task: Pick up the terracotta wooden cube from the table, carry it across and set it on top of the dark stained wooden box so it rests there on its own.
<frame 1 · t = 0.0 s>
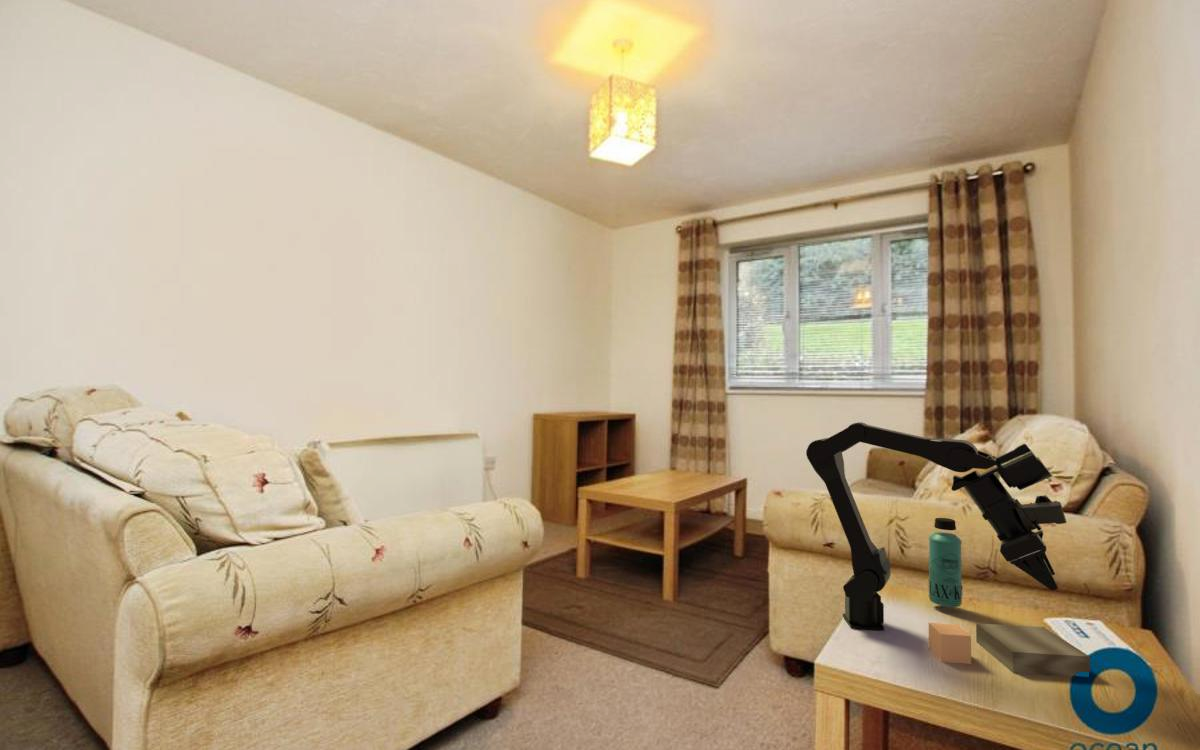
hand: (1053, 582, 99), 15 cm above the table, tool tilted 35°, fingers open, 9 cm apart
beverage bottle: (945, 609, 126), on the table
terracotta cube: (949, 656, 103), on the table
dark box: (1029, 661, 102), on the table
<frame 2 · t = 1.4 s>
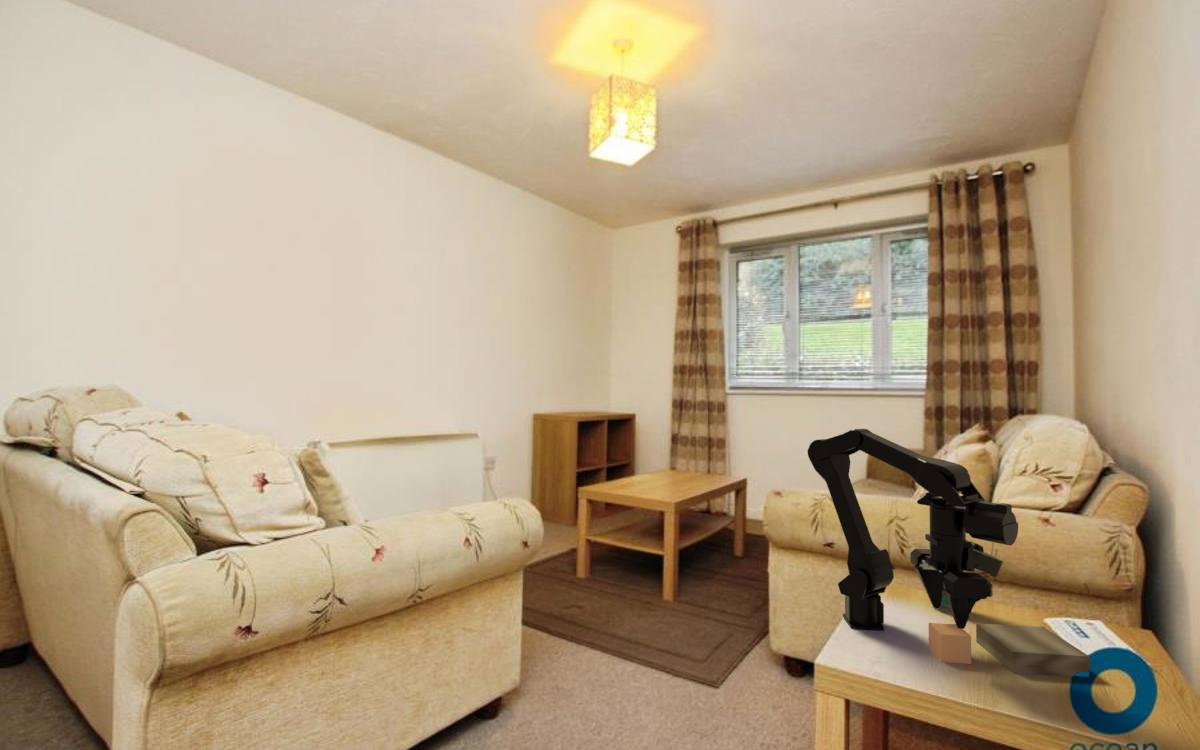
hand: (948, 617, 103), 7 cm above the table, tool pointing down, fingers open, 9 cm apart
nothing on the table moved.
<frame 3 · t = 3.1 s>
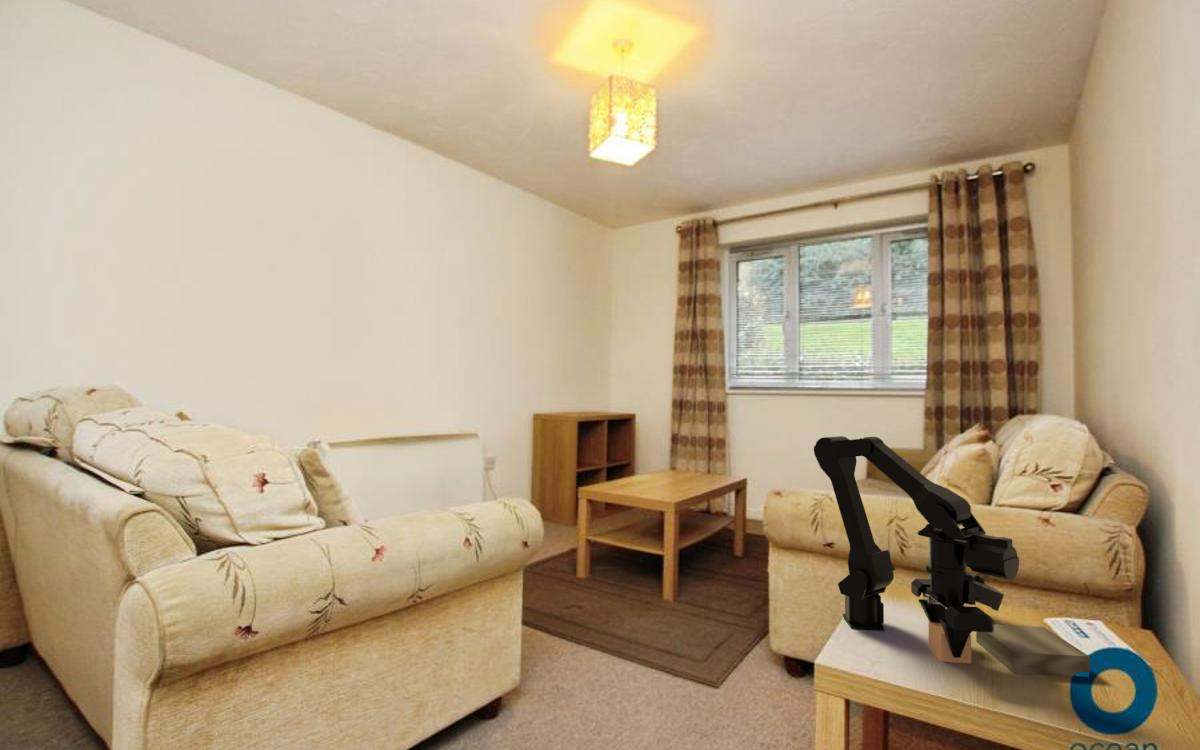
hand: (949, 650, 103), 1 cm above the table, tool pointing down, fingers closed on terracotta cube, 5 cm apart
terracotta cube: (949, 656, 103), on the table, touching gripper
everything else where it was.
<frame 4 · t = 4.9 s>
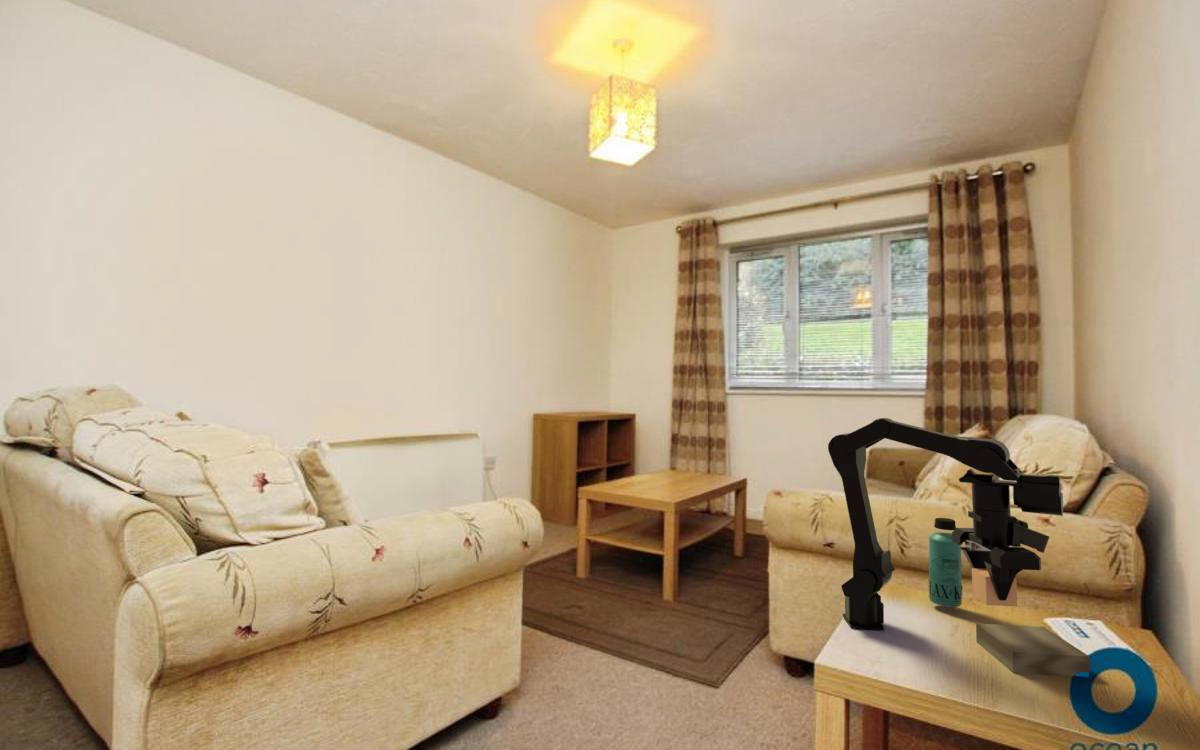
hand: (994, 594, 102), 11 cm above the table, tool pointing down, fingers closed on terracotta cube, 5 cm apart
terracotta cube: (994, 600, 102), point 10 cm above the table, touching gripper
everything else where it was.
when the fingers open (6 cm above the table, at t = 7.1 s): terracotta cube drops 2 cm, resting on dark box.
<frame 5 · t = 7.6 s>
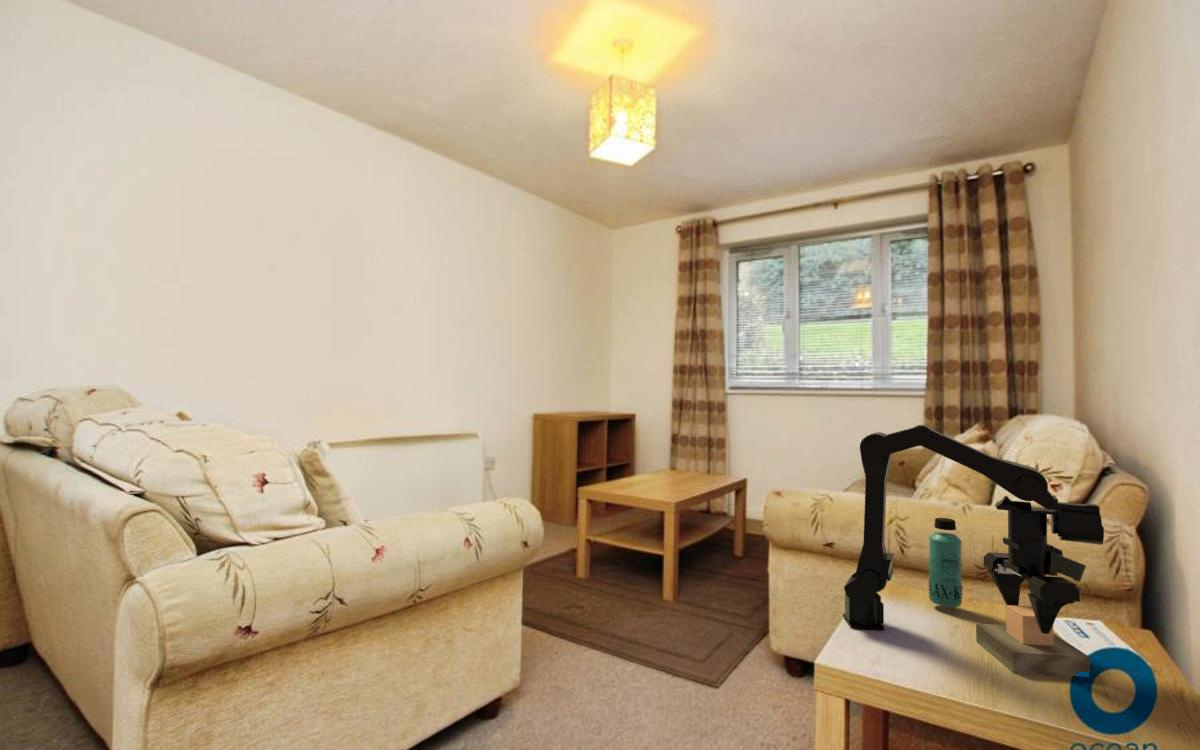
hand: (1028, 622, 102), 6 cm above the table, tool pointing down, fingers open, 9 cm apart
terracotta cube: (1029, 638, 102), point 3 cm above the table, touching dark box
dark box: (1029, 661, 102), on the table, touching terracotta cube
everything else where it was.
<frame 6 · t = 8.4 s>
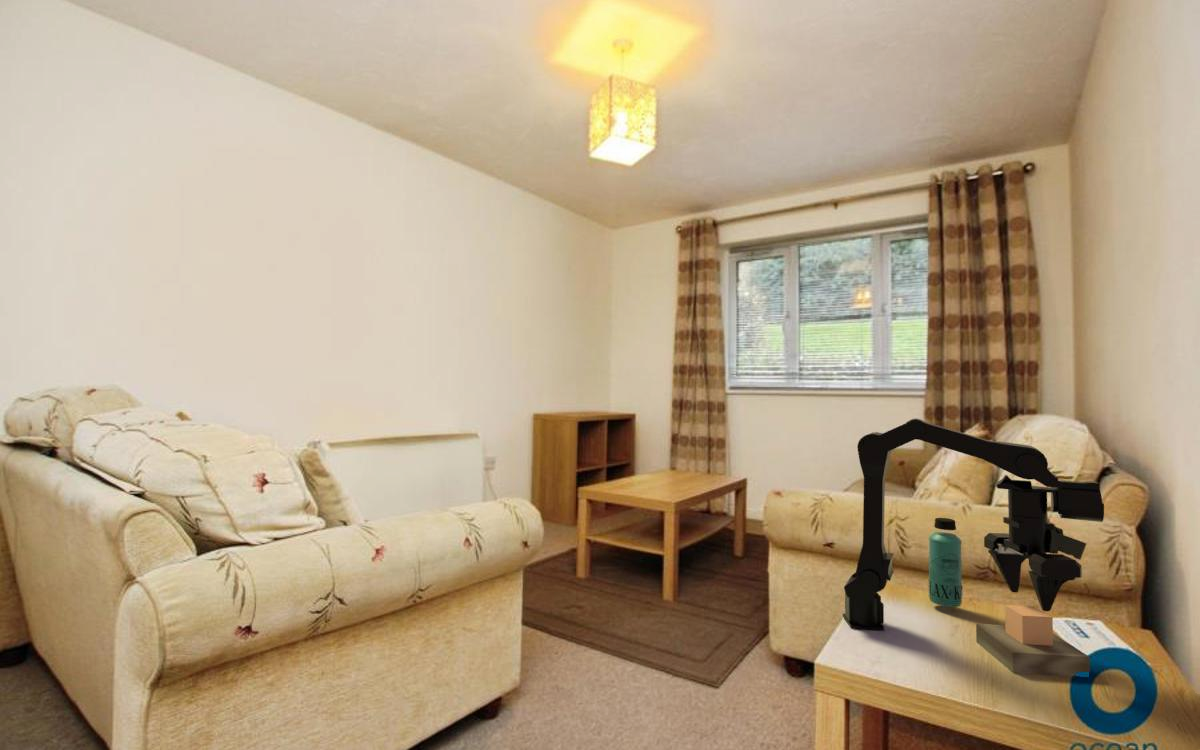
hand: (1029, 601, 102), 10 cm above the table, tool pointing down, fingers open, 9 cm apart
terracotta cube: (1028, 638, 103), point 3 cm above the table
dark box: (1029, 661, 102), on the table
everything else where it was.
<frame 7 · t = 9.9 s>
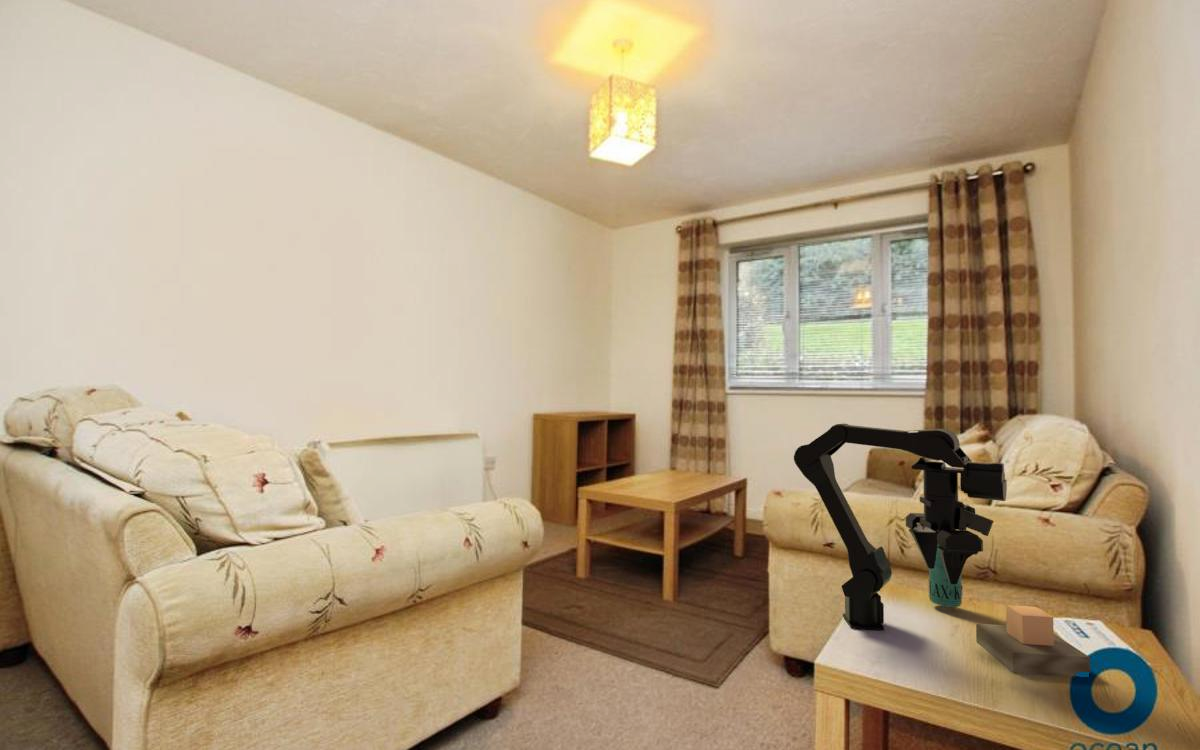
hand: (941, 575, 108), 13 cm above the table, tool pointing down, fingers open, 9 cm apart
terracotta cube: (1029, 638, 102), point 4 cm above the table, touching dark box
dark box: (1029, 661, 102), on the table, touching terracotta cube
everything else where it was.
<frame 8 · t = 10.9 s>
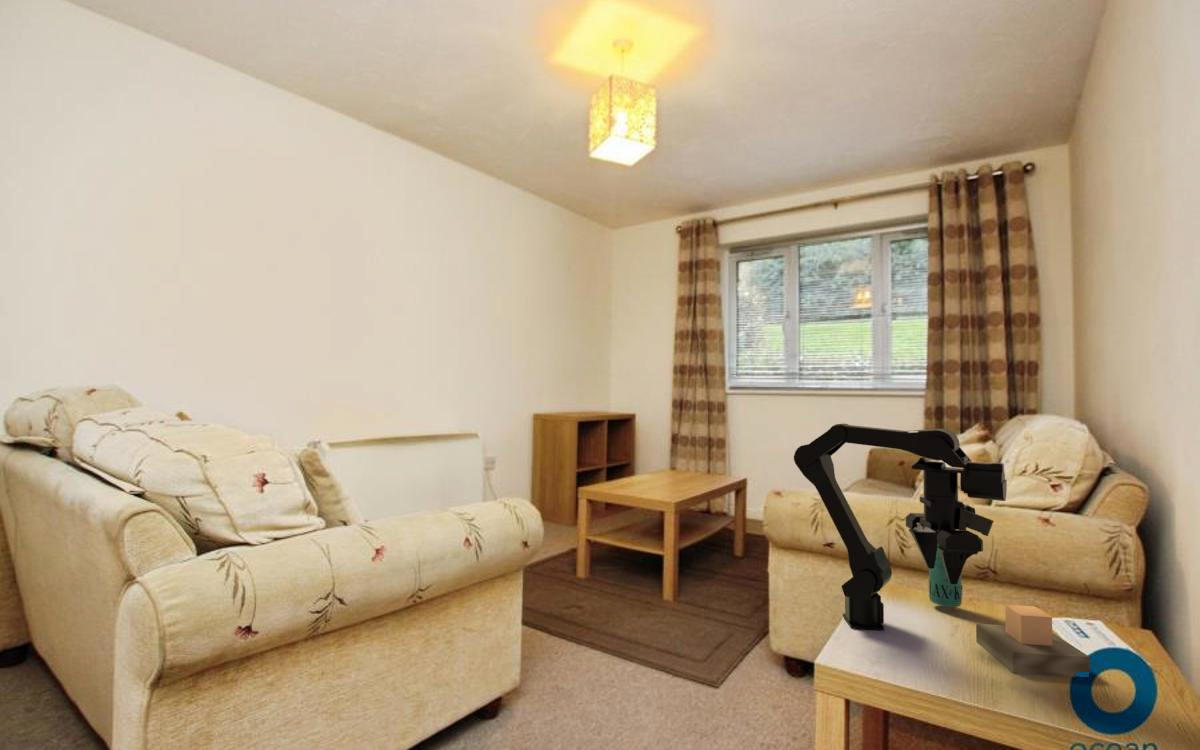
hand: (941, 575, 108), 13 cm above the table, tool pointing down, fingers open, 9 cm apart
nothing on the table moved.
at the end: terracotta cube inside the target area on the dark box (0.3 cm from its centre), point 4.0 cm above the dark box's base; terracotta cube tilted 0°; the gripper is holding nothing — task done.
